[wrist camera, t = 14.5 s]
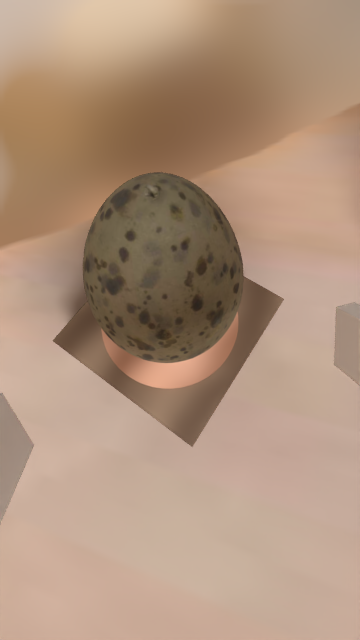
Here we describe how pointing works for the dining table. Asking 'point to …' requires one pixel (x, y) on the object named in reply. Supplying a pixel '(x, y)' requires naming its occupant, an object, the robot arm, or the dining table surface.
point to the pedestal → (174, 364)
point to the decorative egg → (162, 269)
